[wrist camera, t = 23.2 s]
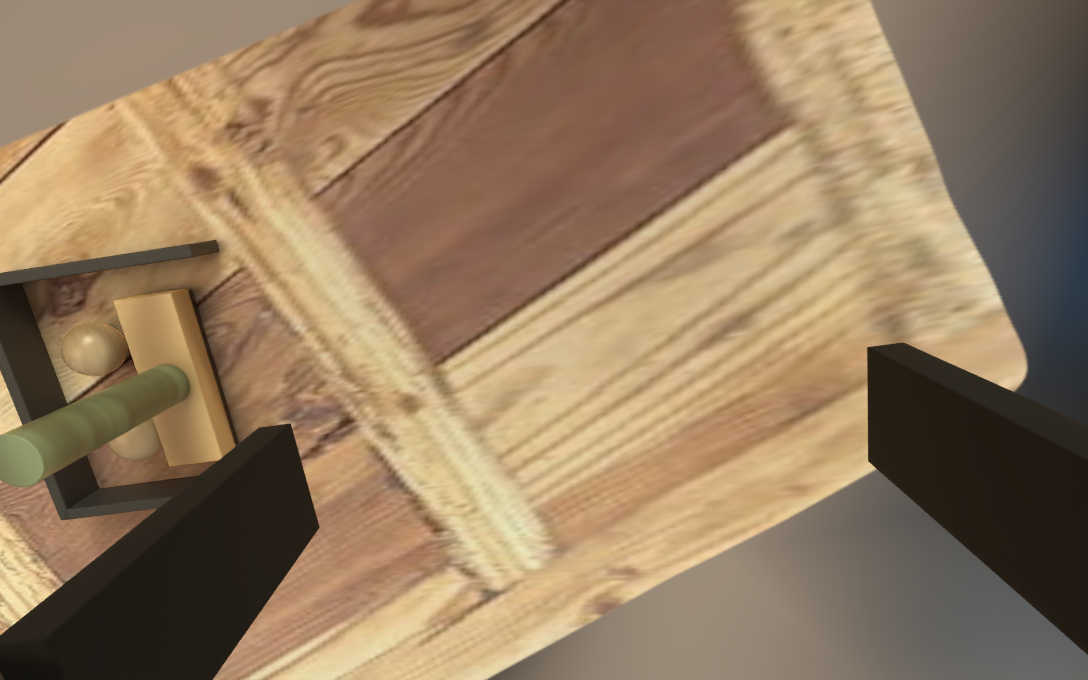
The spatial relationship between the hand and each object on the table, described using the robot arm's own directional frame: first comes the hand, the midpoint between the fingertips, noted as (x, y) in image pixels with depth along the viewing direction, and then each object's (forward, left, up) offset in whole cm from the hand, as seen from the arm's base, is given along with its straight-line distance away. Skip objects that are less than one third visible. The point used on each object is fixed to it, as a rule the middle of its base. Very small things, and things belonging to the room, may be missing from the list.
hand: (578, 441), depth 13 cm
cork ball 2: (+24, -22, -25) cm, 41 cm away
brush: (+18, -21, -27) cm, 38 cm away
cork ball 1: (+19, -26, -25) cm, 41 cm away
